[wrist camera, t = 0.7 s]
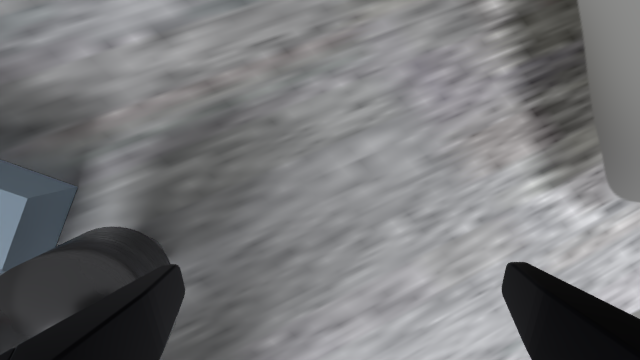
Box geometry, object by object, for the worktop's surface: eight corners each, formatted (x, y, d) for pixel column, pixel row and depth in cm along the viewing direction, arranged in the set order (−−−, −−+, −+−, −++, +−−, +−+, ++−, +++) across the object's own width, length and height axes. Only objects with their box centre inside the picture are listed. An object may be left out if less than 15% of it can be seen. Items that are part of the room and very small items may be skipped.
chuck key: (217, 236, 21) (183, 292, 13) (185, 316, 21) (133, 417, 14) (94, 192, 20) (-27, 226, 12) (62, 278, 20) (-76, 367, 12)
